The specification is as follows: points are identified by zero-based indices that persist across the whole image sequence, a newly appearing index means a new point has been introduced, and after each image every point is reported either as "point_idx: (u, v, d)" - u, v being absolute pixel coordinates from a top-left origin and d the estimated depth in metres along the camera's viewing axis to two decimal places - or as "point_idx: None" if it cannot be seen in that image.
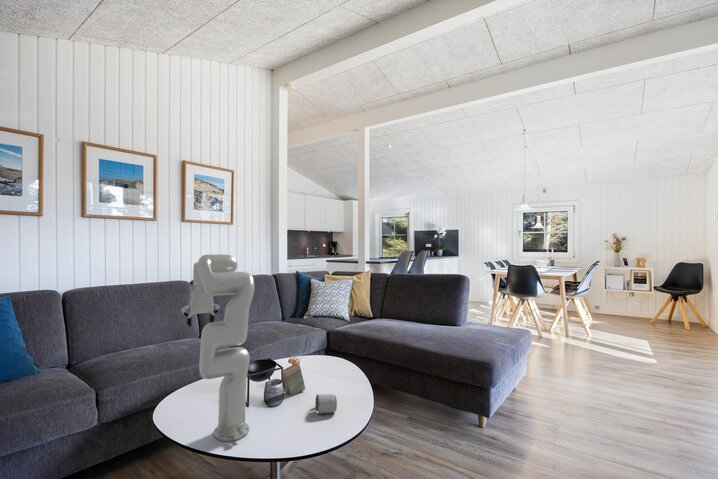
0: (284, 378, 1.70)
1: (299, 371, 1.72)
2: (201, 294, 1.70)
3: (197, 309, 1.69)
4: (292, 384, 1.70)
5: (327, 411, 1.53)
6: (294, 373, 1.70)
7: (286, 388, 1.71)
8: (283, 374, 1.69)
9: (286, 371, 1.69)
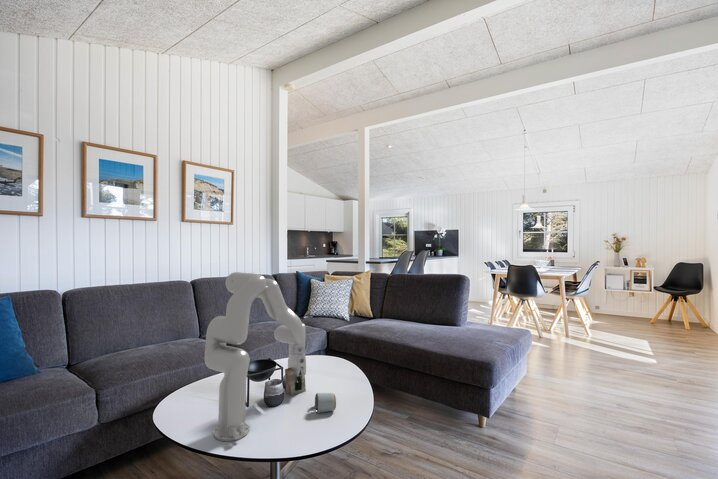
0: (287, 377, 1.70)
1: None
2: None
3: None
4: (294, 384, 1.70)
5: (326, 410, 1.54)
6: None
7: (287, 387, 1.71)
8: (287, 372, 1.70)
9: (290, 370, 1.71)
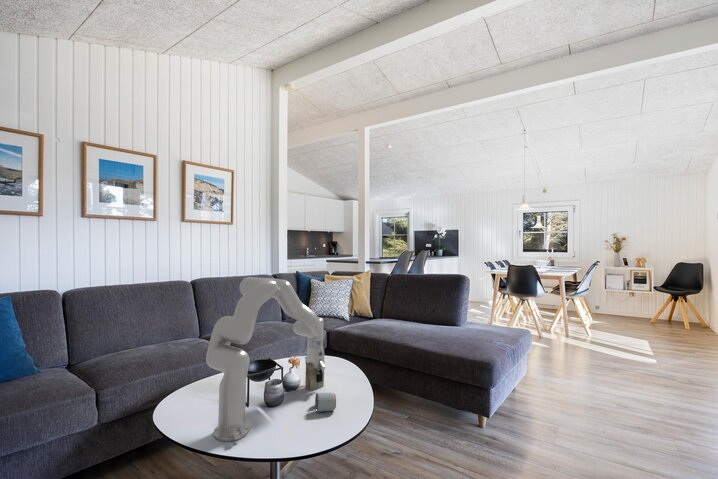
0: (308, 371, 1.77)
1: None
2: None
3: None
4: (314, 378, 1.77)
5: (326, 409, 1.55)
6: None
7: (307, 381, 1.77)
8: (308, 366, 1.77)
9: None
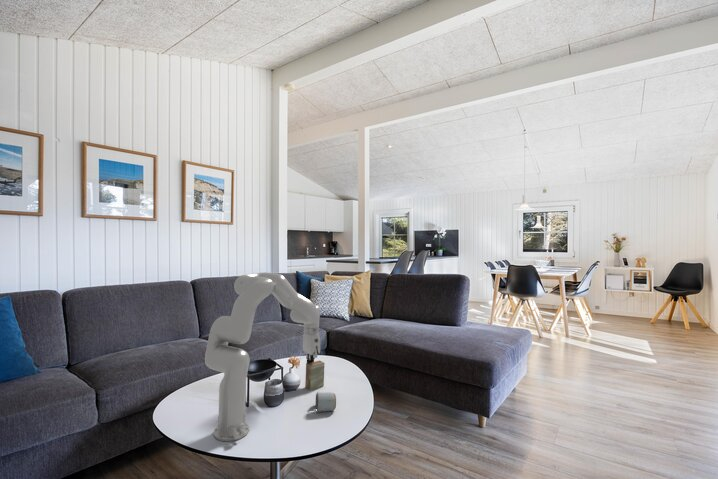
0: (308, 371, 1.77)
1: (322, 368, 1.80)
2: None
3: None
4: (314, 378, 1.77)
5: (326, 409, 1.55)
6: (318, 368, 1.78)
7: (307, 381, 1.77)
8: (308, 366, 1.77)
9: (311, 364, 1.77)
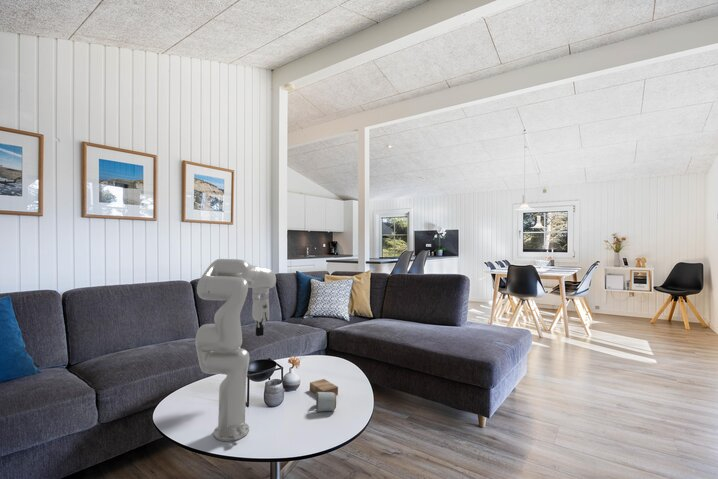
0: None
1: None
2: None
3: None
4: None
5: (326, 409, 1.55)
6: None
7: (313, 388, 1.73)
8: None
9: None
